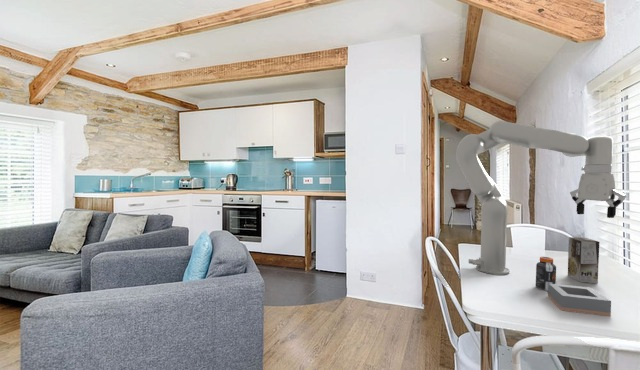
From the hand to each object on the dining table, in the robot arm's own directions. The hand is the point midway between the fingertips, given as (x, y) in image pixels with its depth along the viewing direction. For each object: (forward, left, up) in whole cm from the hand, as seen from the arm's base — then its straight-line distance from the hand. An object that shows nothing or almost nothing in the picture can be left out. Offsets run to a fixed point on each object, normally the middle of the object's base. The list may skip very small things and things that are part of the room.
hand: (594, 215), depth 121 cm
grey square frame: (-14, -26, -26) cm, 39 cm away
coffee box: (0, +7, -26) cm, 27 cm away
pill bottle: (-18, -11, -26) cm, 34 cm away
